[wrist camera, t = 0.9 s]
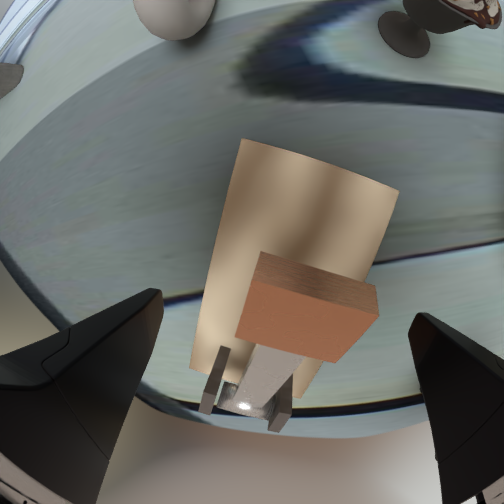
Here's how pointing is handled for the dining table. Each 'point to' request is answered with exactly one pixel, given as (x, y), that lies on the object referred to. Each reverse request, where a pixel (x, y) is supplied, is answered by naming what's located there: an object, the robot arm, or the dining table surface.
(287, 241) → the base
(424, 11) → the sundae
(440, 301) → the dining table surface
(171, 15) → the donut
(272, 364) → the lever
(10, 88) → the hip flask
